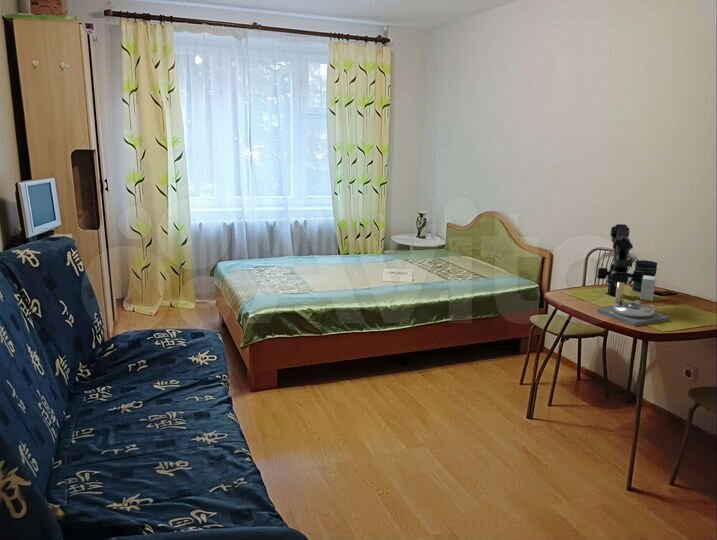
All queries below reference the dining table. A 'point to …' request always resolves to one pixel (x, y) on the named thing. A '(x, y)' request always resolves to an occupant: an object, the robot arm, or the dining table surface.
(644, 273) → the storage jar
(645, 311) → the metal disc with post
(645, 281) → the small box
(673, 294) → the dining table surface
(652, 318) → the housing plate
